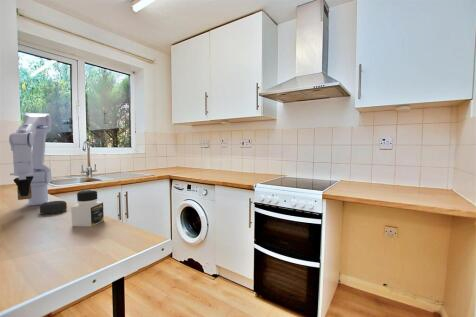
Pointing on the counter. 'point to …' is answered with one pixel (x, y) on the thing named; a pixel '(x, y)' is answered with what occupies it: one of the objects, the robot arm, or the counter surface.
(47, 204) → the smart speaker
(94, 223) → the medicine bottle
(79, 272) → the counter surface
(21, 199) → the walnut block
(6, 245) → the counter surface
